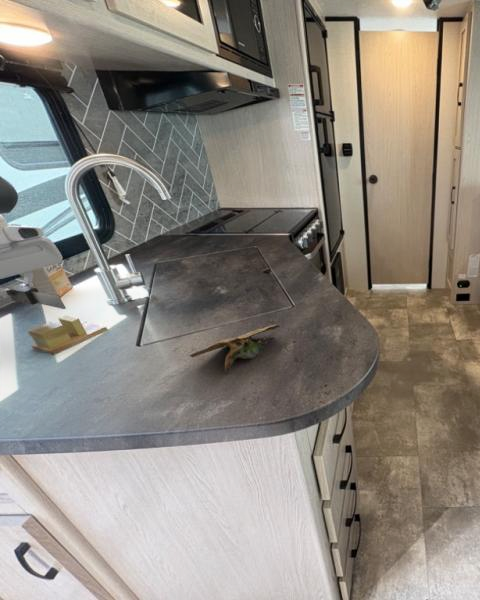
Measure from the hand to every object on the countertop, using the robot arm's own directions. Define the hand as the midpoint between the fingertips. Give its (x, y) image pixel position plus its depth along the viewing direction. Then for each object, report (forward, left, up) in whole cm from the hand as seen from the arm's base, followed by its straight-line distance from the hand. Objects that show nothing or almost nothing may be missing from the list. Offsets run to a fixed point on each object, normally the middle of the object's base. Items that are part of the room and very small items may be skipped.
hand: (19, 293), depth 75 cm
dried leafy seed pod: (+50, -27, -11) cm, 58 cm away
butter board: (+9, -6, -11) cm, 15 cm away
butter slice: (+10, -5, -10) cm, 15 cm away
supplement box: (-12, +28, -11) cm, 32 cm away
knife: (+5, -4, -2) cm, 6 cm away
